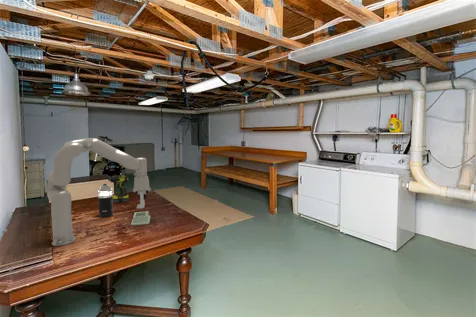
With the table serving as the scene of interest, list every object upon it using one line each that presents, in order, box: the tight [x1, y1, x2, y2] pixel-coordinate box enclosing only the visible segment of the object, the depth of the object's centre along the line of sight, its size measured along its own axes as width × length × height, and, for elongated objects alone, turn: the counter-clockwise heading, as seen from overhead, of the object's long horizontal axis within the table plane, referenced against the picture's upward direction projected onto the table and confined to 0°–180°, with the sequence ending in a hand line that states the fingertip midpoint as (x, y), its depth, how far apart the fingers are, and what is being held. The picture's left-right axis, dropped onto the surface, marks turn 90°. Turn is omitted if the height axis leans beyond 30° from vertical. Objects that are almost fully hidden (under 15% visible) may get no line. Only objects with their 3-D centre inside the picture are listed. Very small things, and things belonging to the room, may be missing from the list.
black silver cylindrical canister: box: [97, 183, 114, 218], centre depth 192 cm, size 10×10×25 cm
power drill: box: [107, 174, 130, 204], centre depth 230 cm, size 9×17×25 cm, turn 107°
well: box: [130, 210, 151, 226], centre depth 182 cm, size 16×12×5 cm
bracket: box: [136, 191, 146, 209], centre depth 181 cm, size 6×5×12 cm
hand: (142, 199), depth 181 cm, fingers closed on bracket, 2 cm apart
